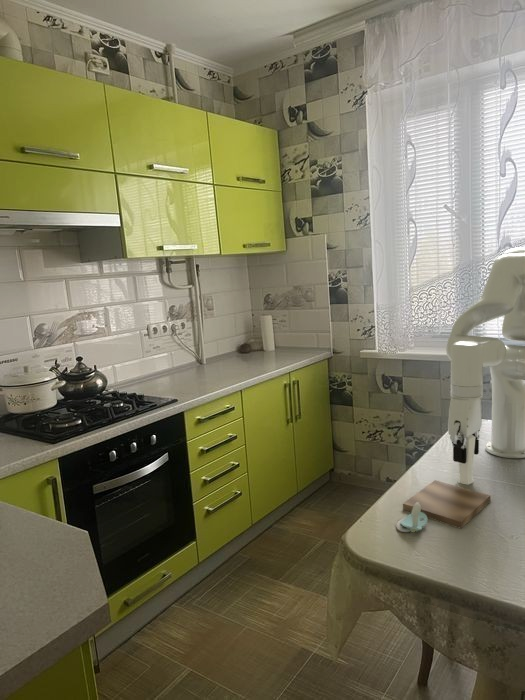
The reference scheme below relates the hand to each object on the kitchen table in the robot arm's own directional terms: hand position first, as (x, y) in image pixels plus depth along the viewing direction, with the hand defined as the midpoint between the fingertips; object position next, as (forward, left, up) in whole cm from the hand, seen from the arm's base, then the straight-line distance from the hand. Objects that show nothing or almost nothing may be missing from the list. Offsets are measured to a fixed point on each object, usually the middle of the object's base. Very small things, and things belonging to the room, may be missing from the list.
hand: (466, 457), depth 132 cm
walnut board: (+15, +2, -7) cm, 17 cm away
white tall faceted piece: (0, 0, -7) cm, 7 cm away
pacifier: (+29, 0, -7) cm, 30 cm away
